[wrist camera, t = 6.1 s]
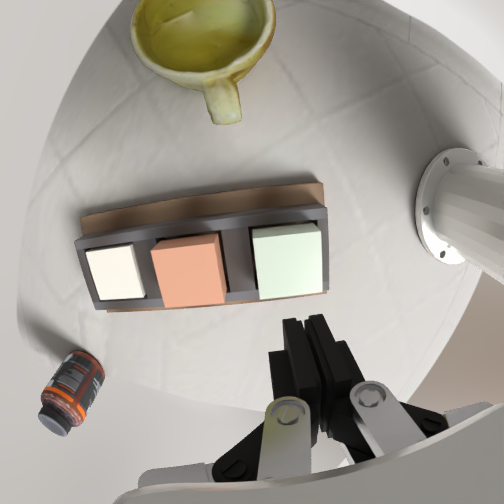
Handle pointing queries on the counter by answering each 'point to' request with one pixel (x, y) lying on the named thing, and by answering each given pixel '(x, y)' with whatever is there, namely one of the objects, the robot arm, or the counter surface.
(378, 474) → the robot arm
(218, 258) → the key terracotta
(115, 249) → the key cream
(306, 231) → the key sage
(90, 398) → the supplement bottle
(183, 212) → the key panel
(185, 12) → the mug
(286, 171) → the counter surface
